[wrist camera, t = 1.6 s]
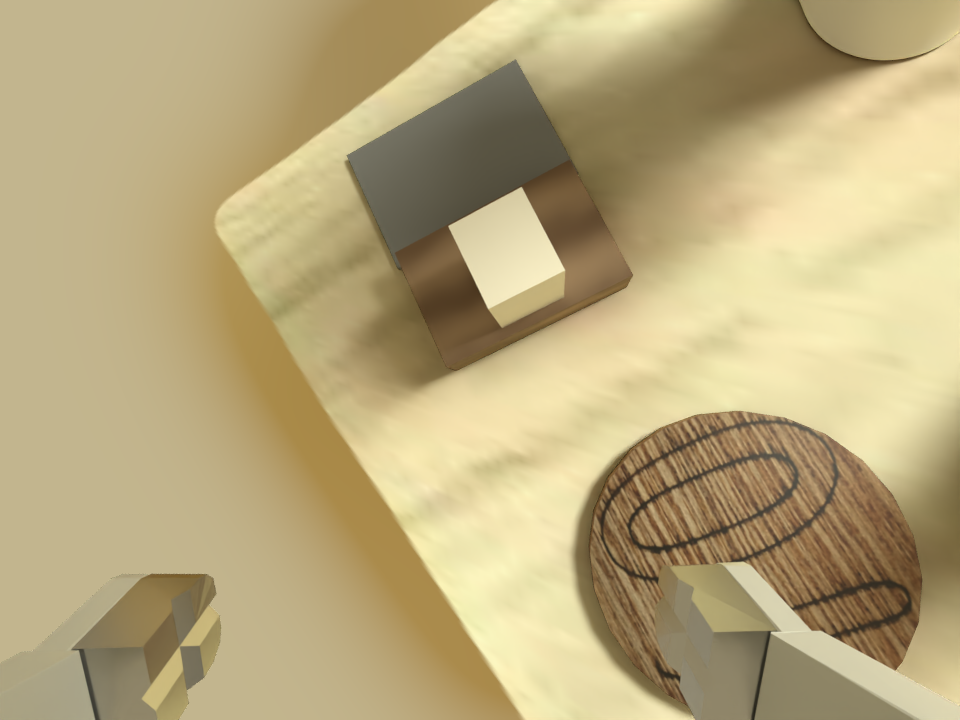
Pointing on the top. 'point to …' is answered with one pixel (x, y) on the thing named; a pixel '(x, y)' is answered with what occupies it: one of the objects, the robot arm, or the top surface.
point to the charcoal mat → (456, 157)
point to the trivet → (755, 532)
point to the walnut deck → (457, 300)
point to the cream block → (510, 258)
